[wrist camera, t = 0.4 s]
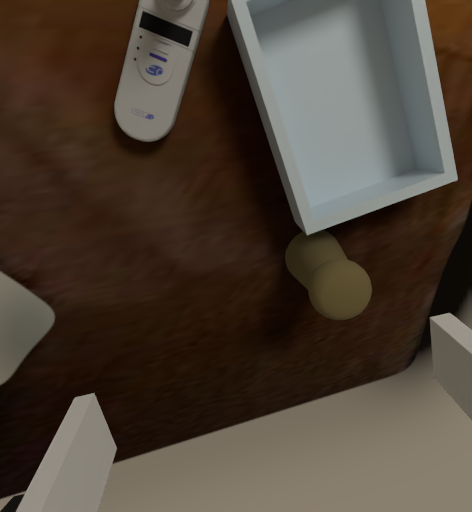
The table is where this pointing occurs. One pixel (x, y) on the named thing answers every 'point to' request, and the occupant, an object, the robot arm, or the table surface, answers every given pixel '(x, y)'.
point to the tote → (346, 102)
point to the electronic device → (158, 66)
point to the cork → (328, 275)
